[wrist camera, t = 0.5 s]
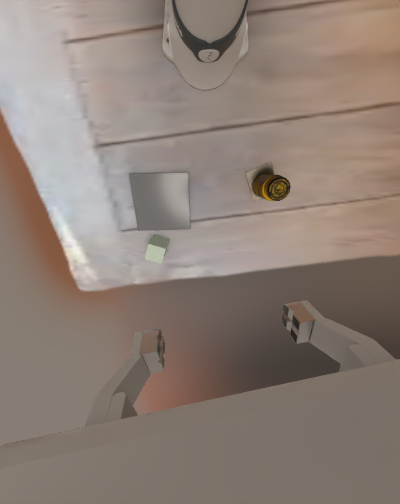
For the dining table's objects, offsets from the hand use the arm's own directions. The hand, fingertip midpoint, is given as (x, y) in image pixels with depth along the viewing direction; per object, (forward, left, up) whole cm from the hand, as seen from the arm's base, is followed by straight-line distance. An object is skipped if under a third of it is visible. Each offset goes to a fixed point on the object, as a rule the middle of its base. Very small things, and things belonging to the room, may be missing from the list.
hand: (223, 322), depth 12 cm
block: (+12, -14, -46) cm, 49 cm away
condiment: (-6, +17, -46) cm, 50 cm away
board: (-1, -12, -46) cm, 47 cm away
